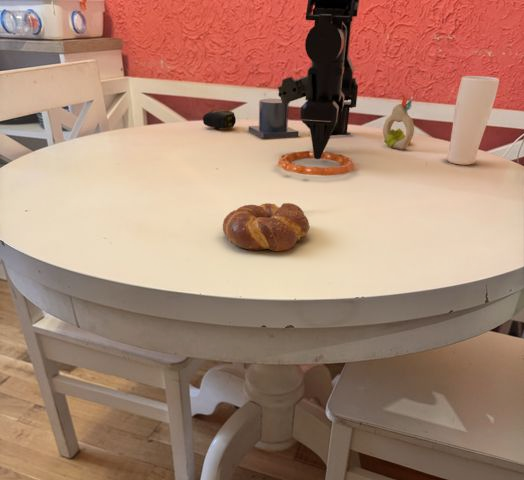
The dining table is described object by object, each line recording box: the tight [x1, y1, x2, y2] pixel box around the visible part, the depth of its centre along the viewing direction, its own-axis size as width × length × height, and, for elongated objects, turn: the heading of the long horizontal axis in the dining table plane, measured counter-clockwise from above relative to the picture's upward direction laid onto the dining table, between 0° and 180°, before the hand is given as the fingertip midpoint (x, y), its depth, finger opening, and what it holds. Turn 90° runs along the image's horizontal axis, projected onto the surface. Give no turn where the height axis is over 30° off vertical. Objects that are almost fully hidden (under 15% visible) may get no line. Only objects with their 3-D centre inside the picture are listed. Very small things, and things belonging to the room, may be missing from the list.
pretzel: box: [222, 202, 311, 252], centre depth 64 cm, size 12×11×4 cm
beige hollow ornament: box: [382, 90, 415, 151], centre depth 107 cm, size 8×8×12 cm
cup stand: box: [248, 98, 300, 140], centre depth 117 cm, size 9×9×7 cm
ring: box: [277, 150, 355, 177], centre depth 92 cm, size 14×14×2 cm
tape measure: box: [202, 109, 237, 131], centre depth 122 cm, size 7×7×4 cm
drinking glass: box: [446, 75, 500, 166], centre depth 96 cm, size 7×7×15 cm
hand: (319, 153), depth 97 cm, fingers open, 9 cm apart
